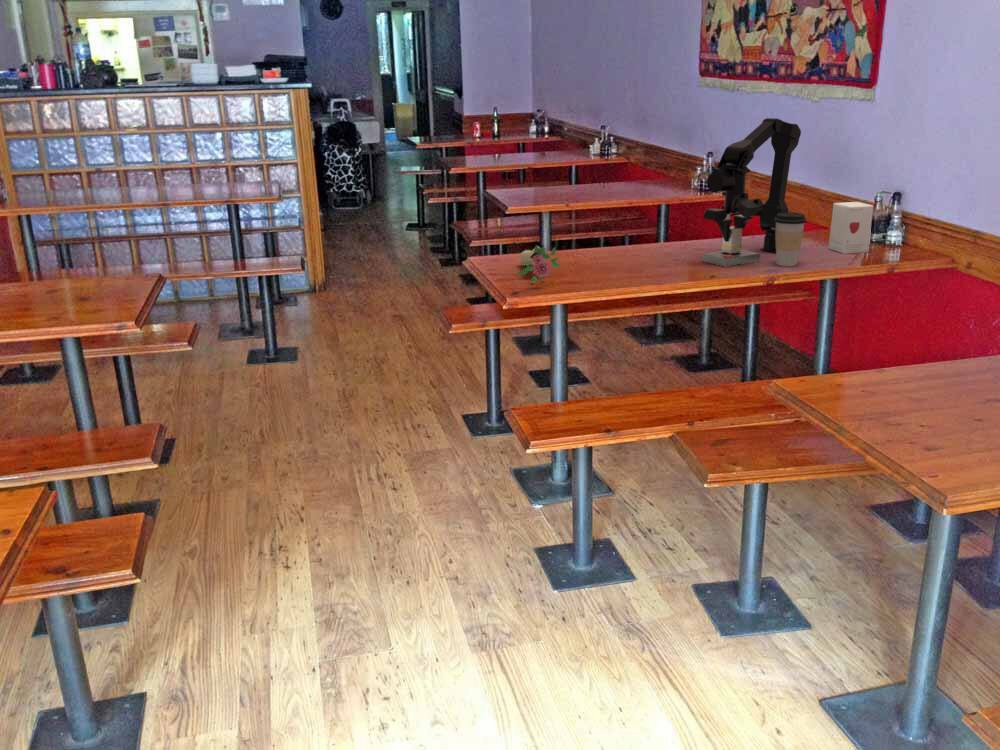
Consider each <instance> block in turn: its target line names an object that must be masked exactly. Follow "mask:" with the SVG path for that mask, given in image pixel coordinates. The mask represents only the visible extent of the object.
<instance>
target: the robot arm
mask: <svg viewBox="0 0 1000 750" xmlns="http://www.w3.org/2000/svg"><path fill="white" fill-rule="evenodd" d="M801 134H802V130H801V128H800V127H799V124H797V123H789V122H786V121H783V120H782V119H779V118H775V117H774V118H773V117H772V118H771V117H767V118H764V119H763V120H762V122H761V123H760V124H759V125H758V126H757V127H756V128H754V130H752V131H751V132H750V133H749V134H747V136H746V137H745V138H744V139H742V140H740V141H736V142H733V143H731V144H730V145H728V146H727V147H726V148H725V149H724V151H723V154H722V156H721V158H720V159H719V162H718V164H717V165H716V168H713V171H712V173H710V174H709V176H708V178H707V180H706V185H707V188H708V190H709V191H710V192H711V193H721V192H722V193H721V195H722V196H724V204H723V205H721V208H720V209H719V208H716V207H715V208H714V207H713V208H707V209H706V210H704V213H703V219H704V220H705V219H706V220H710V221H713V222H716V224H717V226H718V229H719V230H720V233H721V235H722V239H723V238H724V240H725V241H726V242H728V239H729V231H730V227H731V224H732V223H733V226H735V227H740V228H742V233H743V231H744V229H745V228H746V225H747V224H748V222H749V221H751V220H753V219H754V217H758V220H759V226H760V231H762V232H765V233H764V234H765V235H764V239H763V241H764V242H763V247H760V250H762V251H765V252H770V253H776V239H775V230H776V222H774V218H775V217H776V216H777V214H778V213H789V207H788V205H787V203H786V201H785V199H786V192H787V185H788V179H789V172H790V167H791V166H790V164H791V157H792V153H793V152H794V151H795V149H796V148H797V147H798V145H799V141H800V137H801ZM769 139H770V140H771V141H770V144H771V146H772V149H773V151H774V157H773V163H772V169H771V178H770V185H769V193H768V198H767V200H766V201H765V202H764V203H763V200H762V199H761V198H754V199H749V194H748V192H746V182H747V181H746V179H747V174H749V173H751V169H750V168H748V165H749V164H750V163H751V162H752V160H753V159H754V157H755V152H756V151H757V150H758V149H759V148H760V147H762V145H764V144H765V143H766V142H767V141H768V140H769ZM732 216H733V219H731V217H732Z"/></svg>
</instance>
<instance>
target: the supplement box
mask: <svg viewBox="0 0 1000 750" xmlns="http://www.w3.org/2000/svg"><path fill="white" fill-rule="evenodd" d="M873 212H874V205H873V204H868V203H865V202H861V201H849V202H848V201H846V202H833V205H832V214H831V224H830V232H829V240H828V241H829V242H828V249H829V250H831V251H835V252H837V253H840V254H843V255H846V254H862V253H868V252H869V247H870V240H871V239H870V238H871V231H872V230H871V229H872V223H873Z"/></svg>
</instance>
